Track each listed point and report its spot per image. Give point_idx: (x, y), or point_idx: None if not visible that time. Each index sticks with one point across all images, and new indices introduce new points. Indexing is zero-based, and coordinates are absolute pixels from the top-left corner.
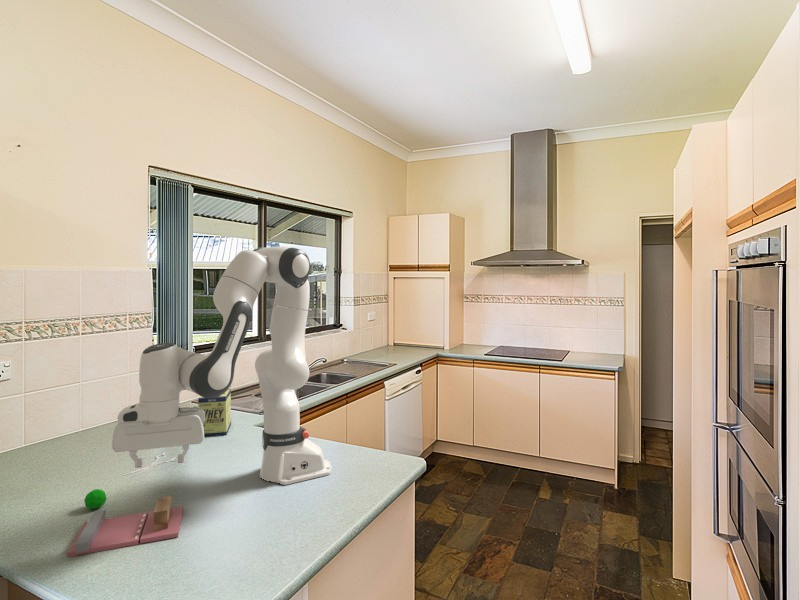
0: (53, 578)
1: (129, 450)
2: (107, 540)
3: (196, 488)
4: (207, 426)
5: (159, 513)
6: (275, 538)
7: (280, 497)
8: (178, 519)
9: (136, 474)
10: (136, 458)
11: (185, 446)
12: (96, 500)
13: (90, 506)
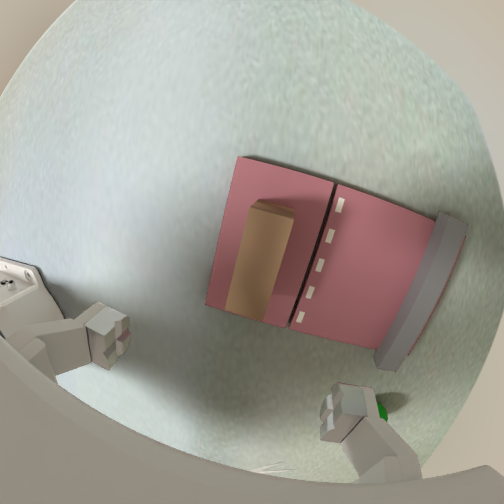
0: (481, 161)
1: (436, 478)
2: (400, 235)
3: (174, 375)
4: None
5: (275, 213)
6: (82, 62)
7: (41, 223)
8: (224, 235)
9: (273, 465)
10: (369, 435)
11: (20, 346)
12: None
13: (380, 405)
